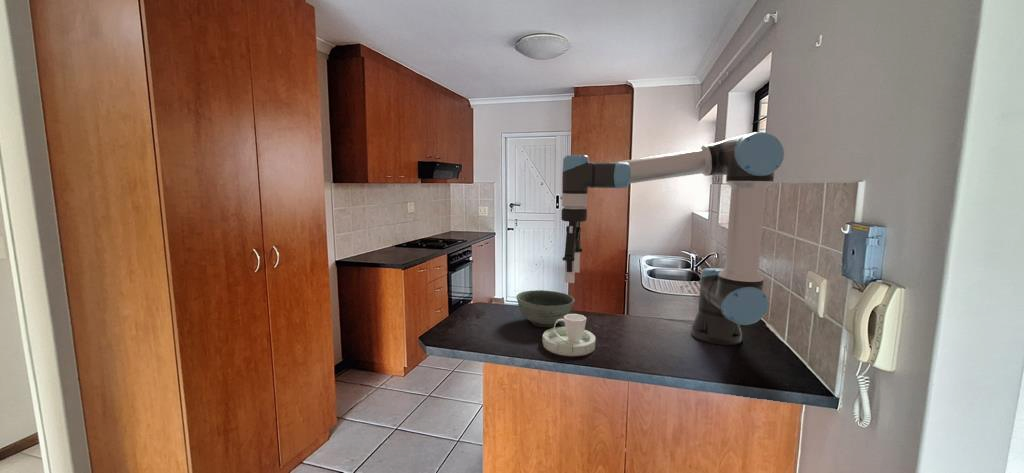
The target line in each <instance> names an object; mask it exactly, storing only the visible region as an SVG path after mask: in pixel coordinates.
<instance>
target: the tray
mask: <svg viewBox="0 0 1024 473" xmlns="http://www.w3.org/2000/svg"><path fill="white" fill-rule="evenodd" d="M555 331H556V333H557V334H558V335H559V336H561V337H562V338H563V339H565V340H568V338H567V335H566V331H565V326H555ZM596 337H597V336H595V334H593V333H592V332H591V331H589V330H587V329H584V334H583V337H582V339H581V343H580V344H576V345H573V344H569V343H568V342H565V341H563V340H562V339H560V338H559V337H558V336H557V335H556V334H555V332H554V327H550V328H549V329H547V330H545V331H544V332H543V334H542V345H543V348H544V349H545V350H547V351H548V352H550V353H551V354H552V353H553V354H555V355H559V356H562V357H563V356H564V357H581V356H587V355H589V354H591V353H593V352H594V351H595V349H596Z"/></svg>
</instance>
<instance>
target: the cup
mask: <svg viewBox="0 0 1024 473" xmlns="http://www.w3.org/2000/svg"><path fill="white" fill-rule="evenodd" d="M558 321H561V322H563V323H564V327H565V331H566V335H567V338H568V340H565V339H563V338H562V337H561V336H559V335H558V334H557V333H556V331H555V327H556V326H557V325H556V323H557V322H558ZM558 323H559V322H558ZM558 323H557V324H558ZM586 323H587V317H586V316H584V315H583V314H578V313H569V314H567V315H565V316H564V319H558V320H557V321H556V322H555V325H554V326H553V328H554V332H555V334H556V335H557V336H558V337H559V338H560V339H562V340H563V341H565V342H568V343H569V344H573V345H576V344H580V343H581V339H582V337H583V334H584V330H586V329H585V328H586Z"/></svg>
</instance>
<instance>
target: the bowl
mask: <svg viewBox="0 0 1024 473" xmlns="http://www.w3.org/2000/svg"><path fill="white" fill-rule="evenodd" d="M515 297H516V301H517V303H518V308H519V310H520V312H521V314H522V315H523V317H524V318H525V319H527V320H528V321H530V323H531V324H532V325H533V326H537V327H540V328H554V325H555V322H556V321H557V320H558V319H564V316H565V315H567V314H571V311H572V308H573V306H574V303H575V301H576V300H575V298H574V297H573V296H571V295H570V294H567V293H564V292H559V291H553V290H544V289H543V290H541V289H539V290H526V291H522V292H521V291H520V292H519V293H517V294H516V296H515ZM560 322H562V321H558V322H557V323H556V325H555V326H557V325H558V323H560Z"/></svg>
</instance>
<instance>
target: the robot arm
mask: <svg viewBox="0 0 1024 473" xmlns="http://www.w3.org/2000/svg"><path fill="white" fill-rule="evenodd" d="M784 150H785V149H784V146H783V144H782V142H781V141H780V140H779V139H778V137H776V136H775V135H773V134H772V133H769V132H764V131H763V132H762V131H758V132H757V131H754V132H748V133H746V134H742V135H738V136H733V137H731V138H728V139H727V138H726V139H724V140H722V141H717V142H714V143H710V144H703V145H702V146H701V147H700V148H699V149H693V150H686V151H679V152H674V153H667V154H659V155H654V156H652V155H651V156H647V157H641V158H640V157H639V158H634V159H633V158H632V159H626V160H621V161H614V162H613V161H610V162H609V161H608V162H607V161H606V162H605V161H604V162H603V161H602V162H600V161H599V162H598V161H597V162H594V161H590V157H589V156H588V155H585V154H582V155H581V154H568V155H565V156H564V158H563V160H562V172H561V173H562V176H561V177H562V182H561V185H562V186H561V194H562V195H560V197H559V200H561V206H562V207H563V208H562V209H561V219H560V220H562V221H563V222H568V225H567V226H566V229H565V230H566V237H565V245H564V246H565V248H564V257H563V256H562V261H564V283H567V284H569V283H570V284H575V273H577V274H578V273H580V267H581V266H580V263H581V262H580V261H581V260H580V259H581V258H580V257H581V253H582V252H583V248H582V247H581V230H582V228H581V227H582V226H581V223H582V222H583V223H584V222H586V221H587V219H588V210H587V208H586V207H588V197H589V196H588V194H589V193H588V191H589V190H588V189H589V188H590V189H593V188H594V189H617V190H618V189H626V188H628V187H629V186H630V184H637V183H644V182H650V181H656V180H657V181H659V180H664V179H670V178H680V177H685V176H686V177H687V176H693V175H700V174H701V175H704V176H705V177H708V176H718V175H719V176H721V175H724V176H726V177H725V182H726V184H727V185H728V186H730V189H731V190H730V201H729V213H728V223H727V224H728V226H727V237H726V247H725V248H726V250H725V260H724V262H725V263H724V267H723V268H718V267H713V268H712V267H709V268H703V269H702V271H701V274H700V278H699V280H700V284H699V297H698V298H699V299H698V312H697V313H696V316H695V317H694V320H693V322H692V324H691V327H690V334H691V335H692V337H694V338H696V339H697V340H699V341H703V342H705V343H709V344H714V345H720V346H721V345H722V346H735V345H739V344H740V343H741V342H742V338H743V333H742V329H741V326H742V325H743V326H748V325H749V326H750V325H752V324H756V323H758V322H759V321H760V320H762V319H763V318H764V317H765V316H766V314H767V313H768V310H769V306H770V303H769V298H768V297H767V295H766V293H765V292H764V291H763V290H764V289H763V288H764V277H763V276H762V274H760V273H759V265H760V256H761V245H762V233H763V225H764V223H763V222H764V212H765V205H766V204H765V202H766V193H767V192H766V191H767V188H768V187H769V186H771V185H772V184H773V183H774V179H775V178H774V176H775V171H777V170H778V169H779V168H780V167H781V166H782V164H783V161H784V158H785V151H784Z"/></svg>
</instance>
